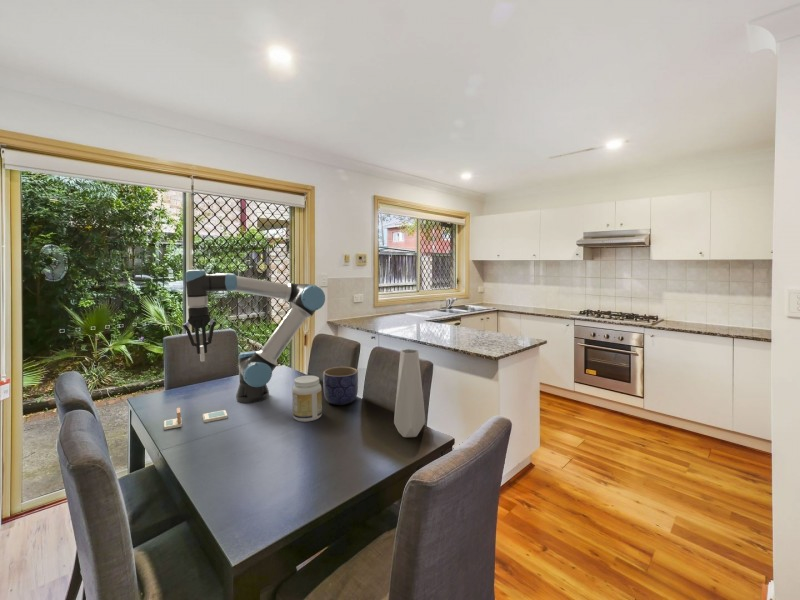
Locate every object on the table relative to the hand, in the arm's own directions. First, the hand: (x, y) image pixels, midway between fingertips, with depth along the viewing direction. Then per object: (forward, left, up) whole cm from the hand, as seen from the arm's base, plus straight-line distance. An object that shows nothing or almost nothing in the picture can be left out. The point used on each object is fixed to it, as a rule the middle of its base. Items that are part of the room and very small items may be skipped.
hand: (202, 360), depth 161 cm
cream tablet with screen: (-3, +4, -24) cm, 25 cm away
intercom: (+12, +4, -24) cm, 28 cm away
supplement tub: (-38, +24, -25) cm, 51 cm away
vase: (-66, +60, -25) cm, 93 cm away
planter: (-57, +14, -25) cm, 64 cm away
